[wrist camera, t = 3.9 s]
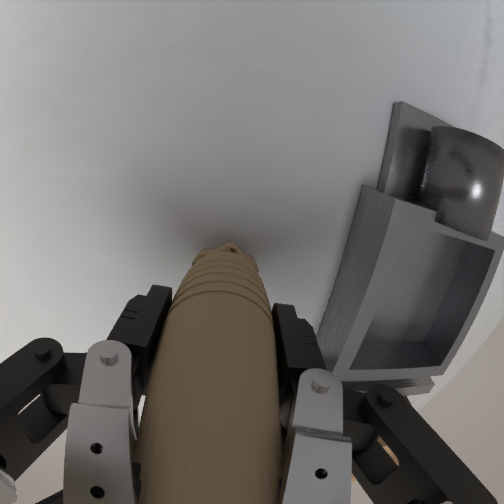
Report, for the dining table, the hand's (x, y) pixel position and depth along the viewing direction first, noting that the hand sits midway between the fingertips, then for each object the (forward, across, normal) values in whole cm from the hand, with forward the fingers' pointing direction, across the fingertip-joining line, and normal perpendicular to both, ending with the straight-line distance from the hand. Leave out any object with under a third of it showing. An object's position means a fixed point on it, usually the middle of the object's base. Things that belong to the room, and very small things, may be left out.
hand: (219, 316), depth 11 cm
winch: (+6, -12, -3) cm, 14 cm away
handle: (+4, 0, 0) cm, 4 cm away
